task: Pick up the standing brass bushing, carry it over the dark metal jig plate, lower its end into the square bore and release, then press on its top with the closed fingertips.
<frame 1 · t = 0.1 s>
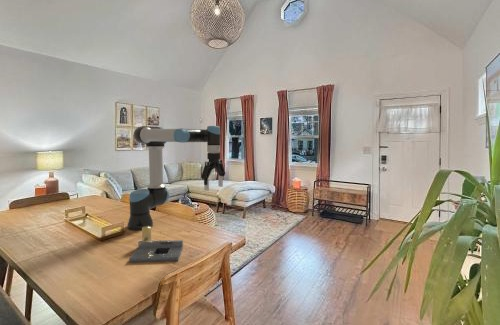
hand: (213, 188, 152), 28 cm above the table, fingers open, 13 cm apart
jig: (157, 254, 126), on the table
brass bushing: (146, 245, 137), on the table
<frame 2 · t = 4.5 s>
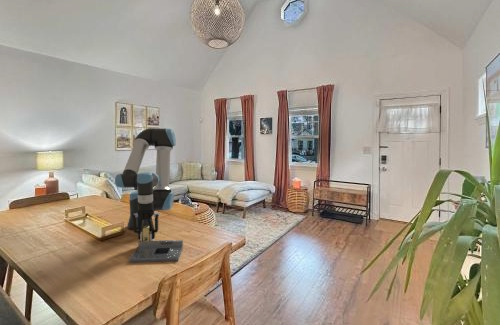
hand: (146, 244, 137), 0 cm above the table, fingers closed on brass bushing, 4 cm apart
brass bushing: (146, 245, 137), on the table, touching gripper
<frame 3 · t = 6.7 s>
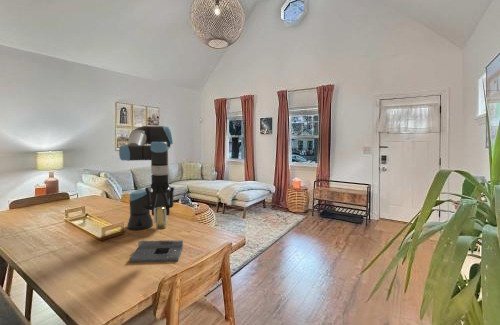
hand: (160, 221, 124), 17 cm above the table, fingers closed on brass bushing, 4 cm apart
brass bushing: (161, 228, 125), point 14 cm above the table, touching gripper
when the fingers open (3 cm above the table, at t = 9.0 s): brass bushing stays where it is, resting on jig.
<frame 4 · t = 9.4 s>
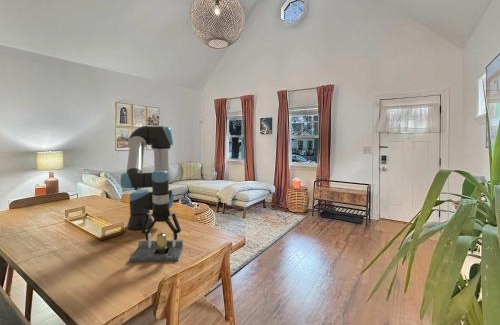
hand: (161, 246, 126), 4 cm above the table, fingers open, 11 cm apart
brass bushing: (162, 254, 126), resting on jig
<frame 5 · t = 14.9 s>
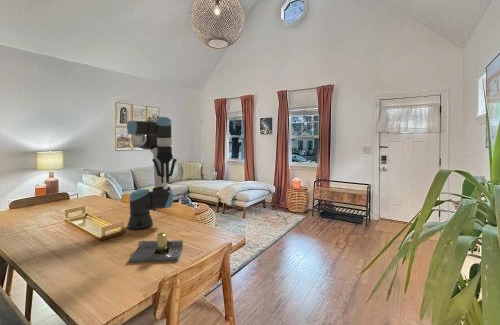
hand: (165, 188, 141), 29 cm above the table, fingers closed
nothing on the table moved.
at the end: brass bushing 0.1 cm from the target spot on the jig, point 0.2 cm above the jig's base; brass bushing tilted 0°; the gripper is holding nothing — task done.
